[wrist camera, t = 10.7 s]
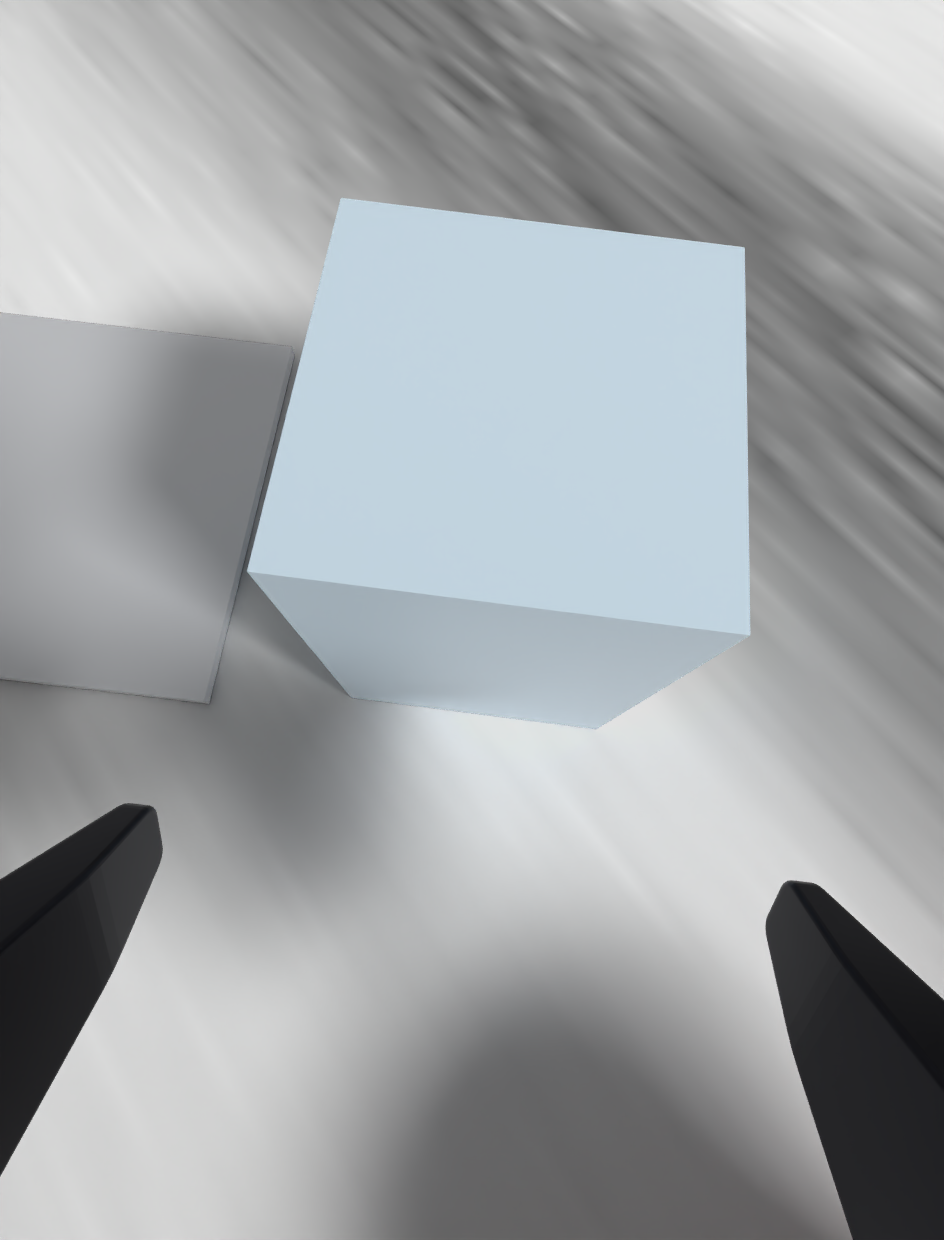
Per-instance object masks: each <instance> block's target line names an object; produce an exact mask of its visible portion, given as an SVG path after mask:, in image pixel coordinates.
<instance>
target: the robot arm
mask: <svg viewBox="0 0 944 1240" xmlns="http://www.w3.org/2000/svg"><path fill="white" fill-rule="evenodd" d="M162 851H163V846H162V840H161V834H160V828H159V822H158V817H157V812H156V810H155V809H154V808H153V807H151V806H148V805H139V804H131V803H127V804H123V805H120V806H118V807H116V808H115V809H113V810H112V811H110V812H108V813H107V814H105V815H103V816H102V817H100V818H99V819H97V820H95V821H94V822H92V823H91V824H89V825H87V826H86V827H84V828H82V829H81V830H79V831H78V832H76V833H74V834H73V835H71V836H69V837H68V838H66V839H65V840H63V841H61V842H60V843H58V844H57V845H55V846H53V847H52V848H50V849H48V850H47V851H45V852H44V853H42V854H40V855H39V856H37V857H36V858H34V859H32V860H31V861H29V862H27V863H26V864H24V865H23V866H21V867H19V868H18V869H16V870H15V871H13V872H11V873H10V874H8V875H6V876H5V877H3V878H2V879H0V1176H1V1174H2V1172H3V1171H4V1169H5V1167H6V1165H7V1163H8V1162H9V1160H10V1158H11V1156H12V1154H13V1153H14V1151H15V1149H16V1147H17V1145H18V1143H19V1142H20V1140H21V1138H22V1136H23V1134H24V1133H25V1131H26V1129H27V1127H28V1125H29V1124H30V1122H31V1120H32V1118H33V1116H34V1115H35V1113H36V1111H37V1109H38V1107H39V1105H40V1104H41V1102H42V1100H43V1098H44V1096H45V1095H46V1093H47V1091H48V1089H49V1087H50V1086H51V1084H52V1082H53V1080H54V1078H55V1076H56V1075H57V1073H58V1071H59V1069H60V1067H61V1066H62V1064H63V1062H64V1060H65V1058H66V1057H67V1055H68V1053H69V1051H70V1049H71V1047H72V1046H73V1044H74V1042H75V1040H76V1038H77V1037H78V1035H79V1033H80V1031H81V1029H82V1028H83V1026H84V1024H85V1022H86V1020H87V1019H88V1017H89V1015H90V1013H91V1011H92V1009H93V1008H94V1006H95V1004H96V1002H97V1000H98V999H99V997H100V995H101V993H102V991H103V990H104V988H105V986H106V984H107V982H108V980H109V978H110V976H111V974H112V972H113V970H114V968H115V966H116V964H117V962H118V959H119V957H120V955H121V953H122V951H123V948H124V946H125V944H126V941H127V939H128V937H129V934H130V932H131V930H132V927H133V925H134V923H135V920H136V918H137V916H138V913H139V911H140V909H141V906H142V904H143V902H144V899H145V897H146V895H147V892H148V890H149V888H150V885H151V883H152V881H153V879H154V876H155V874H156V872H157V869H158V867H159V864H160V861H161V858H162ZM766 937H767V941H768V946H769V950H770V955H771V960H772V964H773V969H774V973H775V978H776V982H777V987H778V991H779V996H780V1000H781V1005H782V1009H783V1014H784V1018H785V1023H786V1027H787V1032H788V1036H789V1040H790V1044H791V1048H792V1052H793V1055H794V1058H795V1062H796V1065H797V1068H798V1071H799V1075H800V1078H801V1081H802V1084H803V1087H804V1090H805V1093H806V1096H807V1099H808V1102H809V1105H810V1109H811V1112H812V1115H813V1118H814V1121H815V1124H816V1127H817V1130H818V1133H819V1136H820V1139H821V1142H822V1146H823V1149H824V1152H825V1155H826V1158H827V1161H828V1164H829V1167H830V1170H831V1173H832V1176H833V1180H834V1183H835V1186H836V1189H837V1192H838V1195H839V1198H840V1201H841V1204H842V1207H843V1210H844V1214H845V1217H846V1220H847V1223H848V1226H849V1229H850V1232H851V1235H852V1238H853V1240H944V1000H943V999H942V998H941V997H940V996H939V995H938V994H937V993H936V992H935V991H934V990H933V989H931V988H930V987H929V986H928V985H927V984H926V983H925V982H924V981H923V980H922V979H921V978H920V977H918V976H917V975H916V974H915V973H914V972H913V971H912V970H911V969H910V968H909V967H908V966H906V965H905V964H904V963H903V962H902V961H901V960H900V959H899V958H898V957H897V956H896V955H894V954H893V953H892V952H891V951H890V950H889V949H888V948H887V947H886V946H885V945H884V944H882V943H881V942H880V941H879V940H878V939H877V938H876V937H875V936H874V935H873V934H872V933H871V932H869V931H868V930H867V929H866V928H865V927H864V926H863V925H862V924H861V923H860V922H859V921H857V920H856V919H855V918H854V917H853V916H852V915H851V914H850V913H849V912H848V911H847V910H845V909H844V908H843V907H842V906H841V905H840V904H839V903H838V902H837V901H836V900H835V899H834V898H832V897H831V896H830V895H829V894H828V893H827V892H826V891H825V890H824V889H822V888H821V887H820V886H818V885H817V884H814V883H809V882H801V881H792V880H790V881H787V882H785V883H784V884H783V885H782V887H781V889H780V891H779V893H778V895H777V897H776V899H775V901H774V903H773V905H772V907H771V910H770V912H769V914H768V916H767V919H766Z"/></svg>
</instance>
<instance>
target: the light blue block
mask: <svg viewBox="0 0 944 1240" xmlns="http://www.w3.org/2000/svg"><path fill="white" fill-rule="evenodd" d="M247 572H248V574H249V575H250V576H251V577H252V578H253V580H254V581H255V582H256V583H257V584H258V586H259V587H260V588H261V589H262V590H263V592H264V593H265V594H266V595H267V596H268V598H269V599H270V600H271V601H272V603H273V604H274V605H275V606H276V607H277V609H278V610H279V611H280V612H281V613H282V615H283V616H284V617H285V618H286V619H287V621H288V622H289V623H290V624H291V625H292V627H293V628H294V629H295V630H296V631H297V633H298V634H299V635H300V636H301V638H302V639H303V640H304V641H305V642H306V644H307V645H308V646H309V647H310V648H311V650H312V651H313V652H314V653H315V654H316V656H317V657H318V658H319V659H320V660H321V662H322V663H323V664H324V665H325V666H326V668H327V669H328V670H329V671H330V673H331V674H332V675H333V676H334V677H335V679H336V680H337V681H338V682H339V683H340V685H341V686H342V687H343V688H344V689H345V691H346V692H347V693H348V694H349V695H350V697H351V698H357V699H365V700H373V701H381V702H389V703H396V704H404V705H412V706H420V707H428V708H436V709H443V710H451V711H459V712H467V713H475V714H482V715H490V716H498V717H506V718H514V719H521V720H529V721H537V722H545V723H553V724H561V725H568V726H576V727H584V728H592V729H597V728H599V727H601V726H602V725H604V724H606V723H607V722H609V721H611V720H612V719H614V718H616V717H617V716H619V715H620V714H622V713H624V712H625V711H627V710H629V709H630V708H632V707H634V706H635V705H637V704H639V703H640V702H642V701H643V700H645V699H647V698H648V697H650V696H652V695H653V694H655V693H657V692H658V691H660V690H661V689H663V688H665V687H666V686H668V685H670V684H671V683H673V682H675V681H676V680H678V679H680V678H681V677H683V676H684V675H686V674H688V673H689V672H691V671H693V670H694V669H696V668H698V667H699V666H701V665H703V664H704V663H706V662H707V661H709V660H711V659H712V658H714V657H716V656H717V655H719V654H721V653H722V652H724V651H726V650H727V649H729V648H730V647H732V646H734V645H735V644H737V643H739V642H740V641H742V640H744V639H745V638H747V637H748V636H750V582H749V514H748V446H747V378H746V310H745V247H737V246H729V245H721V244H712V243H704V242H696V241H688V240H680V239H672V238H664V237H655V236H647V235H639V234H631V233H623V232H615V231H607V230H599V229H590V228H582V227H574V226H566V225H558V224H550V223H542V222H533V221H525V220H517V219H509V218H501V217H493V216H485V215H476V214H468V213H460V212H452V211H444V210H436V209H428V208H419V207H411V206H403V205H395V204H387V203H379V202H371V201H362V200H354V199H346V198H341V200H340V204H339V208H338V212H337V216H336V220H335V224H334V228H333V231H332V235H331V239H330V243H329V247H328V251H327V255H326V259H325V263H324V267H323V271H322V275H321V279H320V283H319V287H318V291H317V295H316V299H315V303H314V307H313V311H312V315H311V319H310V323H309V327H308V331H307V335H306V339H305V343H304V347H303V351H302V355H301V359H300V362H299V366H298V370H297V374H296V378H295V382H294V386H293V390H292V394H291V398H290V402H289V406H288V410H287V414H286V418H285V422H284V426H283V430H282V434H281V438H280V442H279V446H278V450H277V454H276V458H275V462H274V466H273V470H272V474H271V478H270V482H269V486H268V490H267V493H266V497H265V501H264V505H263V509H262V513H261V517H260V521H259V525H258V529H257V533H256V537H255V541H254V545H253V549H252V553H251V557H250V561H249V565H248V569H247Z"/></svg>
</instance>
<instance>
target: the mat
mask: <svg viewBox="0 0 944 1240" xmlns="http://www.w3.org/2000/svg"><path fill="white" fill-rule="evenodd" d="M294 356H295V354H294V351H293V348H292V346H284V345H275V344H267V343H258V342H250V341H241V340H233V339H224V338H216V337H207V336H198V335H190V334H181V333H173V332H164V331H156V330H147V329H139V328H130V327H122V326H113V325H105V324H96V323H87V322H79V321H70V320H62V319H53V318H45V317H36V316H28V315H19V314H11V313H2V312H0V679H4V680H13V681H21V682H29V683H38V684H46V685H55V686H63V687H71V688H80V689H88V690H96V691H105V692H113V693H122V694H130V695H138V696H147V697H155V698H164V699H172V700H180V701H189V702H197V703H205V704H209V703H210V699H211V695H212V691H213V687H214V683H215V678H216V674H217V670H218V666H219V662H220V658H221V654H222V650H223V646H224V642H225V638H226V634H227V629H228V625H229V621H230V617H231V613H232V609H233V605H234V601H235V597H236V593H237V589H238V585H239V580H240V576H241V572H242V568H243V564H244V560H245V556H246V552H247V548H248V544H249V540H250V536H251V532H252V527H253V523H254V519H255V515H256V511H257V507H258V503H259V499H260V495H261V491H262V487H263V483H264V478H265V474H266V470H267V466H268V462H269V458H270V454H271V450H272V446H273V442H274V438H275V434H276V429H277V425H278V421H279V417H280V413H281V409H282V405H283V401H284V397H285V393H286V389H287V385H288V380H289V376H290V372H291V368H292V364H293V360H294Z"/></svg>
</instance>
